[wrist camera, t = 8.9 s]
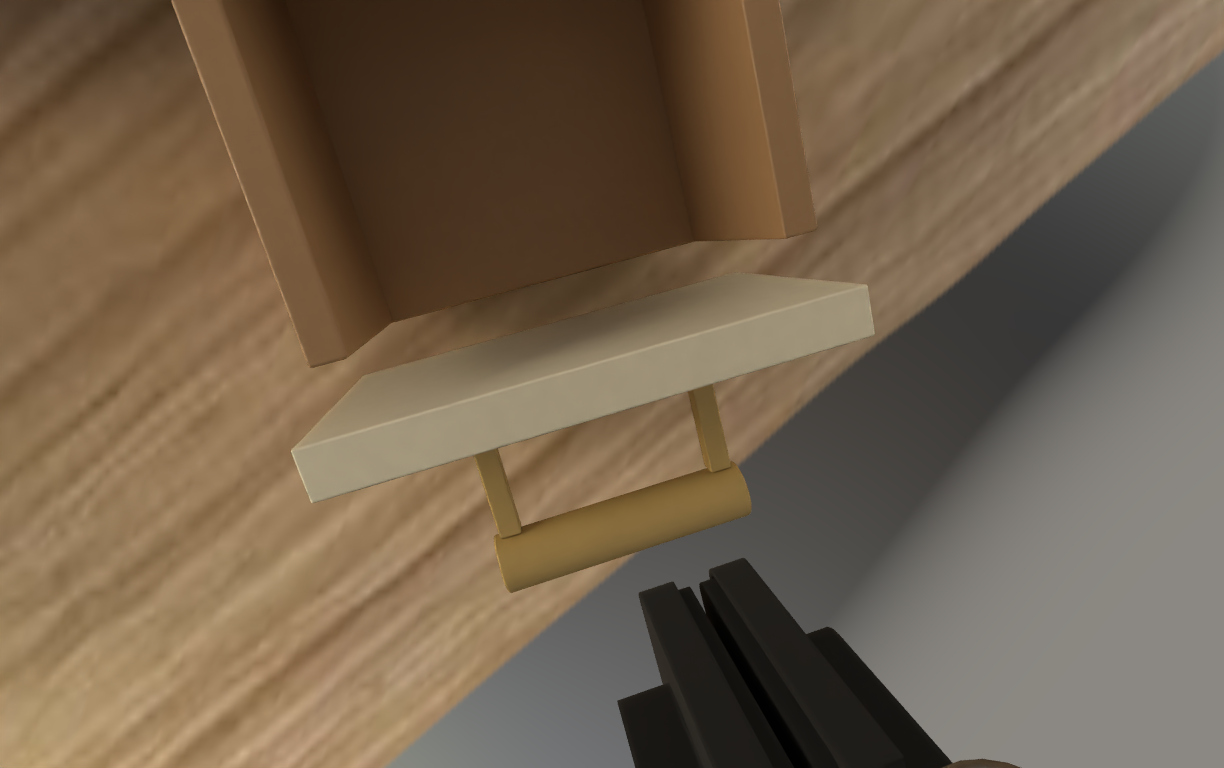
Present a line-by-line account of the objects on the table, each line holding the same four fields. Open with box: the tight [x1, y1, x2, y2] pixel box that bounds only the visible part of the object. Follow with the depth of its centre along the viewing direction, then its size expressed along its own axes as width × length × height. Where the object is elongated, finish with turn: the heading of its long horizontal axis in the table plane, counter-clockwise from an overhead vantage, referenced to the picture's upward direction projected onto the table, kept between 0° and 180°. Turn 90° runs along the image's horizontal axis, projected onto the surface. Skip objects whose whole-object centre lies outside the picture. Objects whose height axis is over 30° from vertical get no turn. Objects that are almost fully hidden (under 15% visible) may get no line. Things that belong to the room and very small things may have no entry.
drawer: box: [171, 0, 875, 593], centre depth 17 cm, size 21×13×8 cm, turn 14°
